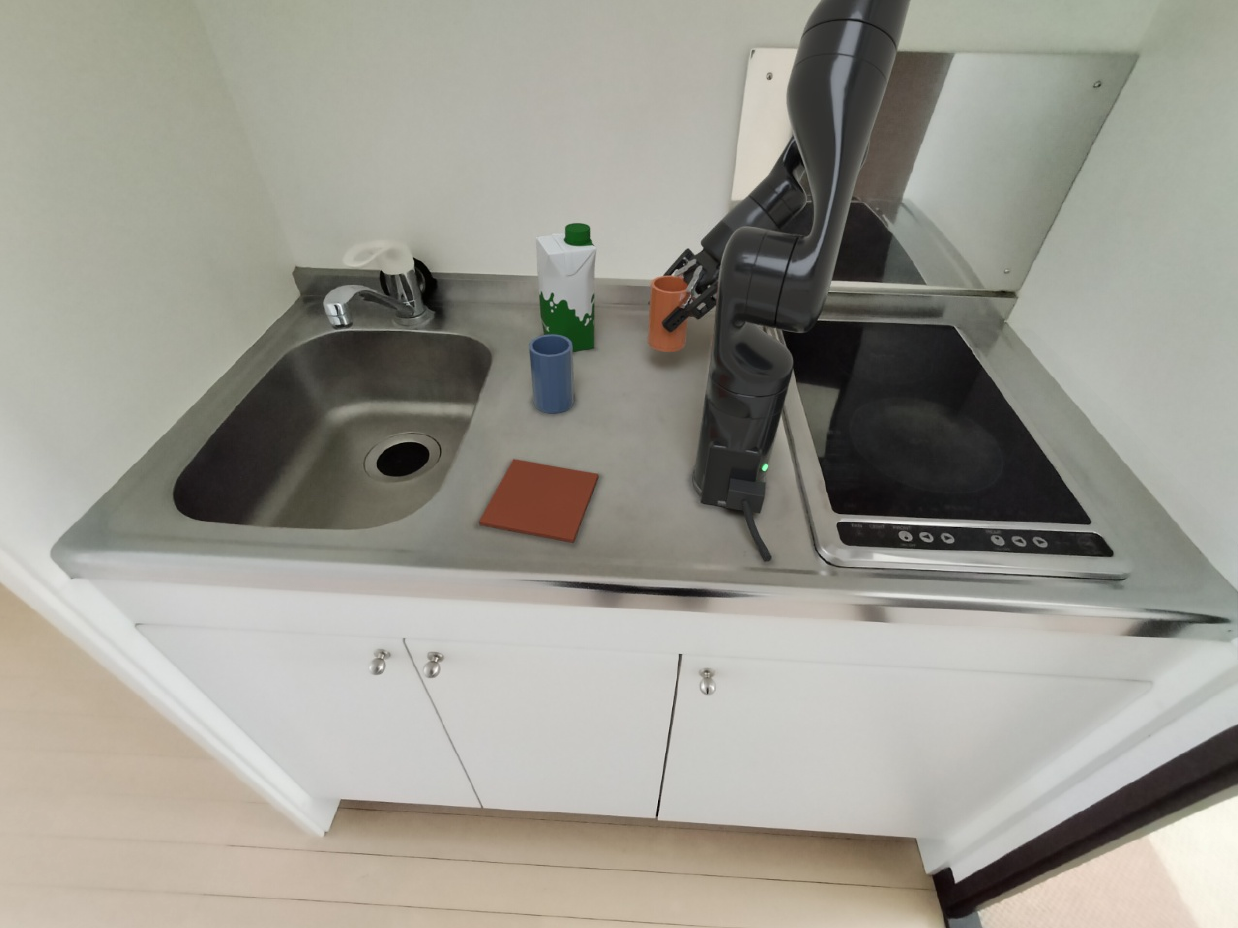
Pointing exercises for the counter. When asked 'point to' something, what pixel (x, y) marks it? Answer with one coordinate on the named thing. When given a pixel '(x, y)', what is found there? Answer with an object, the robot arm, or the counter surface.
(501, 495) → the clay mat
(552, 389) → the blue cup
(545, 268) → the milk carton
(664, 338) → the clay cup
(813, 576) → the counter surface
